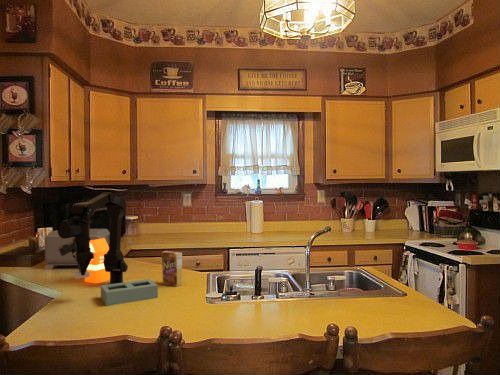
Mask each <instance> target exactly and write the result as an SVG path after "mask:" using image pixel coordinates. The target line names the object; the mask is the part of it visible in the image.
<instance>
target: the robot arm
mask: <svg viewBox="0 0 500 375" xmlns="http://www.w3.org/2000/svg"><path fill="white" fill-rule="evenodd" d="M103 206H104V207H105V208H106V214H107V215H108V217H109V232H110V235H109V250H108V252H107V253H106V254H104V261H103V263H104V267H105V272H110V279H109V282H107V285H109V284H116V283H124V282H125V281H124V273H126V272H127V271H128V267H129V266H128V264H127V263H126V261H125V259H124V253H123V252H122V250H121V239H122V238H121V237H122V218H123V217H124V215H125V214H126V210H127V209H126V208H127V202H126V201H125V200H124V199H123V198H122V197H119V196H117V195H116V194H114V193H113V192H101V193H100V194H99V195H97V196H95V197H93V198H91V199H89V200H87V201H85V202H78V203H74V204H72V205H71V208H70V210H69V211H68V214H67V216H66V218H65V220H64V219H63V220H62V223H61V224H60V225H59V226H58V229H57V230H58V235H59V236H60V237H61V238H63V239H66V238H71V237H74V238H73V239H72V242H70V243H67V244H65V245H62V246H60V247H58V249H59V252H60V254H61V256H64V255H66V254H67V253H70V252H71V254H73V253H75V255H72V256H73V257H74V258H75V260H76V261H77V263H78V265H77V267H78V271H81V275H85V272H86V270H87V268H88V266H89V264H90V261H91V260H92V259H94V254H93V253H92V252H91V248H90V229H91V228H90V226H91V225H90V224H92V223H93V222H94V221H93V220H92V219H91V217H92V216H93V215H94V214H95V211H96V210H97V209H99V208H101V207H103Z"/></svg>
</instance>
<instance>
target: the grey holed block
mask: <svg viewBox="0 0 500 375" xmlns="http://www.w3.org/2000/svg"><path fill="white" fill-rule="evenodd" d="M123 282H124V283H116V284H104V285H103V284H101V285H100V299H101V300H102V302H103V303H104V304H105V306H107V307H109V306H115V305H120V304H126V303H127V304H128V303H134V302H141V301H145V300H146V301H147V300H151V299H152V300H153V299H158V297H159V291H158V290H159V288H158V286H159V285H158V284H157V283H155V282H154V281H153V280H151V279H150V278H147V279H140V280H139V279H138V280H133V281H123ZM117 288H122V289H117ZM110 289H115V290H110Z"/></svg>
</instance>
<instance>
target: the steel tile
mask: <svg viewBox="0 0 500 375" xmlns="http://www.w3.org/2000/svg"><path fill="white" fill-rule="evenodd" d="M86 277H90V272H89V271H88V270H86V272H85V275H81V271H79V270H78V271H76V270H75V271H74V278H75V280H77V279H83V278H84V279H85V278H86Z"/></svg>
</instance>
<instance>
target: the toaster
mask: <svg viewBox="0 0 500 375" xmlns="http://www.w3.org/2000/svg"><path fill="white" fill-rule="evenodd" d="M109 235H110V230H108V228H90V240H96V239H103V238H105V240H106V242H107V244H108V247H109ZM73 238H74V237H71V238H66V239H63V238H61V237H60V236H59V235H58V229H57V230H53V231H50V232H48V233H47V234H46V235H44V260H45V262H46V264H45V265H44V268H43V270H45V271H48V270H53V269H56V268H57V266H78V263H77V261H76V260H75V258H74V257H73V256H72V255H75V253H73V254H71V252H70V253H67V254H66V255H64V256H61V254H60V252H59V249H58V247H60V246H62V245H65V244H67V243H70V242H72V239H73Z"/></svg>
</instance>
